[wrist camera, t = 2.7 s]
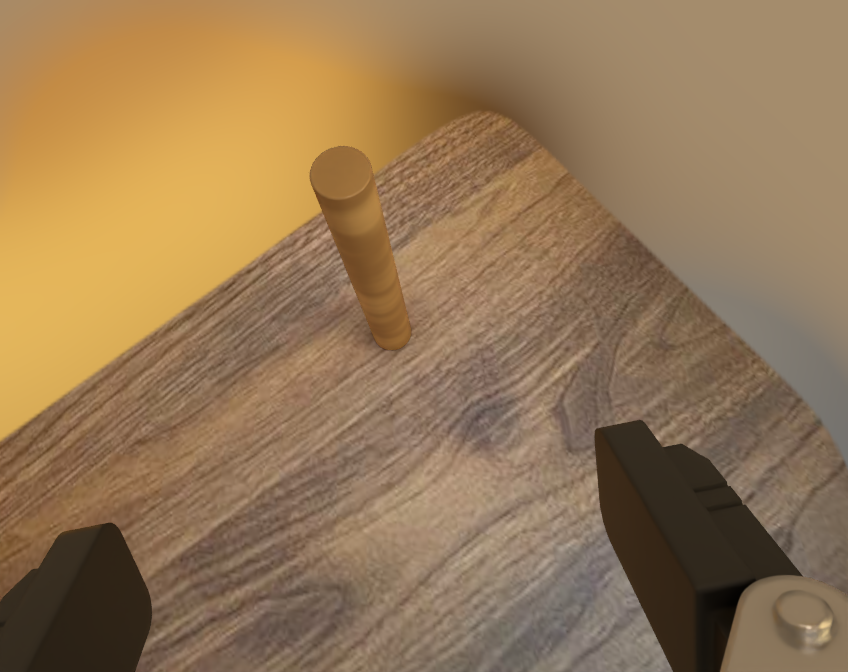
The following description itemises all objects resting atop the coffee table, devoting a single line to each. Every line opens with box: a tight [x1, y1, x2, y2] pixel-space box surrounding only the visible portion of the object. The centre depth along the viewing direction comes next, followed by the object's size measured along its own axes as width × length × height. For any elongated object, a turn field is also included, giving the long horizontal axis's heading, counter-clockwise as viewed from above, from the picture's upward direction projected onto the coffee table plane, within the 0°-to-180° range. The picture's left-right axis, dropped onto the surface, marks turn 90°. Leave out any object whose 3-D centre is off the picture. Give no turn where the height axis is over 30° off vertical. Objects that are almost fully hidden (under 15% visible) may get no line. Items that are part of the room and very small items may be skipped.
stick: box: [310, 146, 411, 350], centre depth 29 cm, size 2×2×15 cm
